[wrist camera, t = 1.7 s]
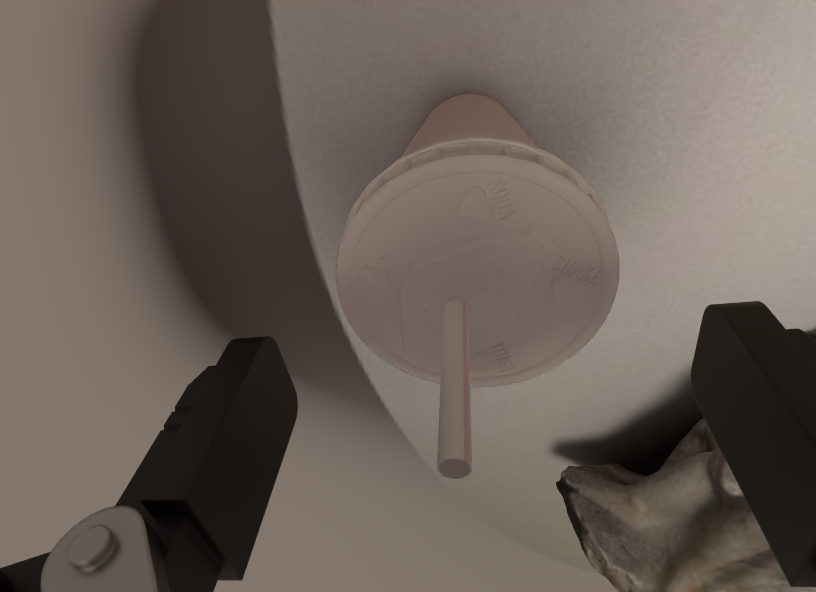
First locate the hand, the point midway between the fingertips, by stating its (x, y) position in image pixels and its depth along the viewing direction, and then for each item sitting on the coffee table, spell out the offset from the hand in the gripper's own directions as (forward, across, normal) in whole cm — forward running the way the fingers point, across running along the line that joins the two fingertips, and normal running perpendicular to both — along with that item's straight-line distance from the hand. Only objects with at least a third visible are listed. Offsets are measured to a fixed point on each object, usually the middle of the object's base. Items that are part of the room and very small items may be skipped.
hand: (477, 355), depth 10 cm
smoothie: (+12, 0, 0) cm, 12 cm away
